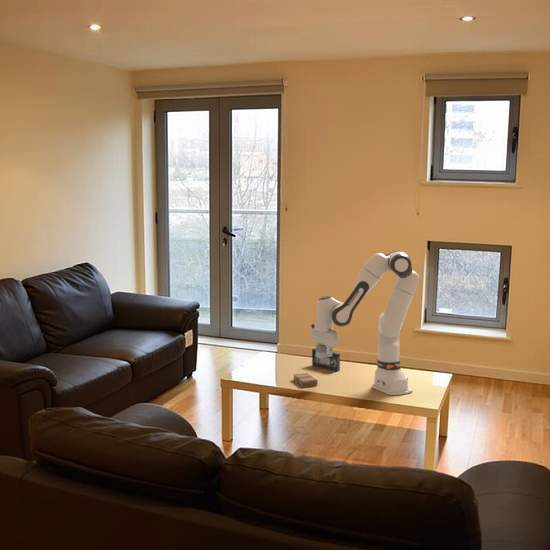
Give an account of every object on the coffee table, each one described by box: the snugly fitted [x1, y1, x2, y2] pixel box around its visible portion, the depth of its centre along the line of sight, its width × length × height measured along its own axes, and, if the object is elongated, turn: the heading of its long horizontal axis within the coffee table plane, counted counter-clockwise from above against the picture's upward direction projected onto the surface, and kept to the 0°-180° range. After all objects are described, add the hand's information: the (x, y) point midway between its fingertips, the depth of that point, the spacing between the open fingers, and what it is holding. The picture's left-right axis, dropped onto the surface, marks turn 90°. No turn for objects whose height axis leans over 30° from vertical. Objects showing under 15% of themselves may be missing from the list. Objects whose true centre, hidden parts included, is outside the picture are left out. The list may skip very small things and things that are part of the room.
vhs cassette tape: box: [311, 348, 341, 372], centre depth 391 cm, size 18×3×10 cm, turn 48°
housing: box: [315, 344, 333, 358], centre depth 358 cm, size 4×8×6 cm, turn 123°
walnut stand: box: [293, 372, 318, 388], centre depth 364 cm, size 14×8×3 cm, turn 20°
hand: (324, 352), depth 359 cm, fingers closed on housing, 4 cm apart
